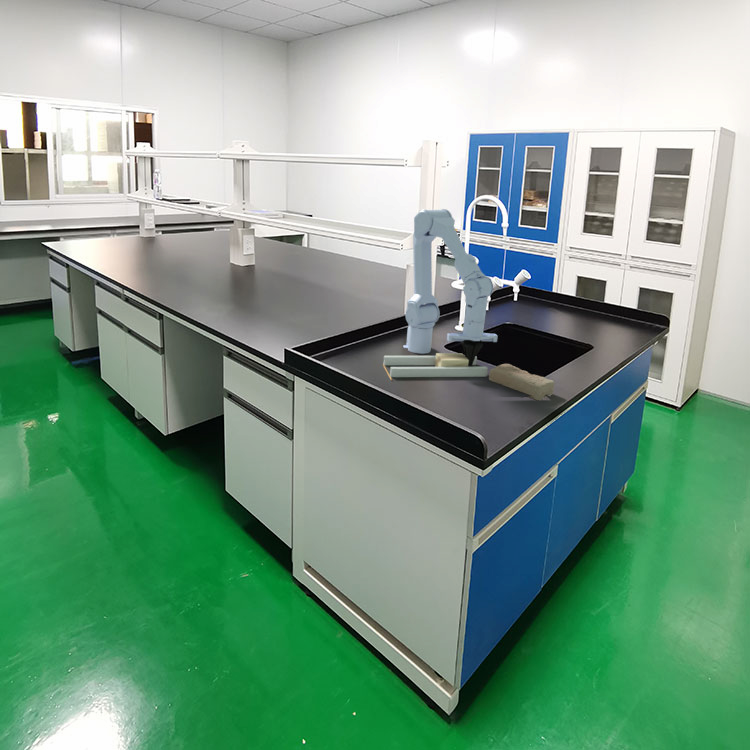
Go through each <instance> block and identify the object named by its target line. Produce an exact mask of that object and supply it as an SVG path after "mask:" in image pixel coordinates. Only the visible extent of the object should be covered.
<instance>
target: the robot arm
mask: <svg viewBox="0 0 750 750" xmlns="http://www.w3.org/2000/svg"><path fill="white" fill-rule="evenodd" d="M413 224H414V225H413V226H414V228H413V230H414V231H413V235H412V240H413V241H412V245H413V246H412V250H413V254H412V255H413V259H412V260H413V295H412V296H411V297H410V298H409V299H408V300H407V303H406V304H407V307H406V310H405V313H404V316H405V320H406V322H407V324H408V326H407V330H406V331H407V332H406V333H407V334H406V344H404V345H402V346H403V348H404V349H407V350H408V351H409V352H410V353H415V354H421V355H424V354H429V353H431V351H432V350H431V349H432V340H433V339H432V338H433V333H434V331H433V329H434V326H435V325H436V323H437V322H438V321H439V319H440V314H441V313H440V312H441V311H440V308H439V306H438V299H437V298H436V297H435V296H434V294H433V292H432V291H433V278H432V275H433V274H432V273H433V272H432V271H433V270H432V268H433V267H432V266H433V265H432V264H433V263H432V262H433V261H432V260H433V259H432V258H433V257H432V242H433V241H434V240H435V239H436V238H441V239H442V241H443V242H444V244H445V245H446V247H447V249H448V250H449V252H450V253H451V254H452V256H453V258H454V259H455V260H454V268H455V269H456V271H457V273H458V275H459V277H460V279H461V281H462V282H463V284H464V286H463V288H462V290H463V293H464V297H465V300H464V301H465V310H464V319H463V327H462V331H461V332H453V333H452V332H450V333H448V332H447V334H446V340H447V342H449V343H452V342H460V343H461V345H462V349H463V352H464V356H465V357H466V358H467V359H468V360H469V362H468V367H473V365H472V364H473V361H474V359H475V357H477V355H478V353H479V352H480V350H481V349H482V348H483V343H482V342H493V343H497V342H498V336H499V335H497V334H496V333H488V332H487V333H486V332H484V328H485V320H486V312H487V306H488V305H487V304H488V298H489V297H490V296H491V295H492V294H493V291H494V284H493V280H492V279H491V277H489V276H487V275H485V274H484V273H483V271H482V270H481V268H480V266H479V265H478V264H477V262H476V261H477V259H476V257H475V256H473V255H472V254H470V253H467V251H466V249H465V247H464V246H463V243H462V240H461V239H460V236H459V234H458V232H457V230H456V227H455V219H454V217H453V216H452V212H450V210H448V209H447V208H446V209H445V208H441V209H421V210H419V212H418V213H416V215H415V216H414V218H413Z"/></svg>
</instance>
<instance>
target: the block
mask: <svg viewBox="0 0 750 750" xmlns="http://www.w3.org/2000/svg"><path fill="white" fill-rule="evenodd" d="M435 356H436V358H435V365H434V367H469V366H468V362H469V360H468V359H467V358H466V357H465V354H463V352H462V353H460V352H459V353H457V352H451V353H450V352H449V353H448V352H443V353H442V352H440V353H439V352H436V353H435Z"/></svg>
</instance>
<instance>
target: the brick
mask: <svg viewBox="0 0 750 750" xmlns="http://www.w3.org/2000/svg"><path fill="white" fill-rule="evenodd" d="M488 380H489V381H490V382H493V383H495V384H499V385H502V386H504V387H507V388H509V389H512V390H515V391H517V392H520V393H522V394H523V393H524V394H527V395H525V397H526V398H529V399H532V400H535V401H538V400H539V401H542V400H544V399H546V398H548V397H547V396H549V395H552V394H553V395H554V390H555V387H554V386H555V381H554V380H552V379H548V378H546V377H544V376H541V375H537V374H532V373H529V372H528V371H526V370H522V369H521V368H519V367H516V366H514V365H512V364H510V363H503V364H499V365H497V366H495V367H493V368H490V370H489V373H488ZM553 395H552V396H553ZM545 397H546V398H545ZM543 398H544V399H543ZM541 399H542V400H541Z"/></svg>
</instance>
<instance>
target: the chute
mask: <svg viewBox="0 0 750 750" xmlns="http://www.w3.org/2000/svg"><path fill="white" fill-rule="evenodd" d="M435 358H436V355H384V356H383V363H382V367H383V369H384V371H386V374H387V376H388V377H389V379H390V381H391V382H392V381H393V378H427V377H428V378H438V377H439V378H440V377H441V378H445V377H446V378H449V377H450V378H455V377H456V378H457V377H458V378H460V377H461V378H463V377H464V378H465V377H468V378H469V377H473V378H474V377H483V378H484V377H488V371H489V370H488V369H489V368H488V367H487V366H476V365H477V359H478V357H477V356H476V357H475V359H474V361H473V364H472V366H468V367H435ZM386 366H390V367H389V368H390V369H389V370H387V368H386Z"/></svg>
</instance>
